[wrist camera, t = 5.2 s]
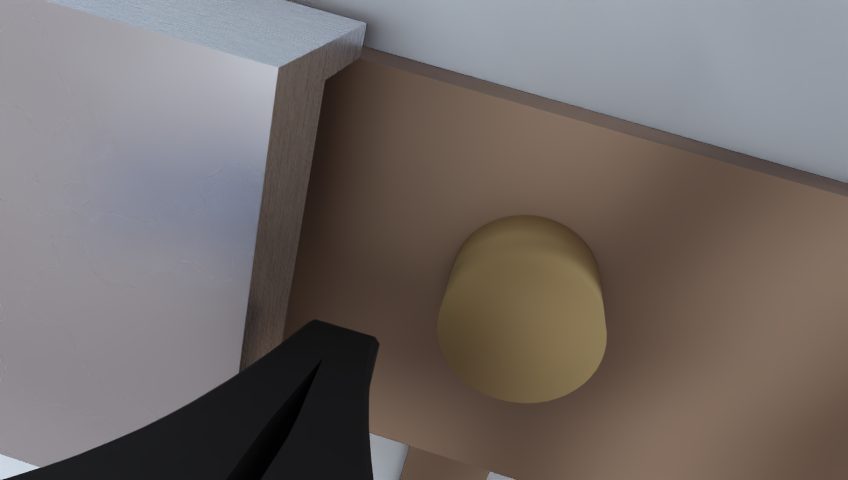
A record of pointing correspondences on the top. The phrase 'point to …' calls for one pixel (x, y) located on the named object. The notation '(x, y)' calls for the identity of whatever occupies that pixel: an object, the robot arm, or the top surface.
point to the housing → (148, 203)
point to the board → (670, 292)
